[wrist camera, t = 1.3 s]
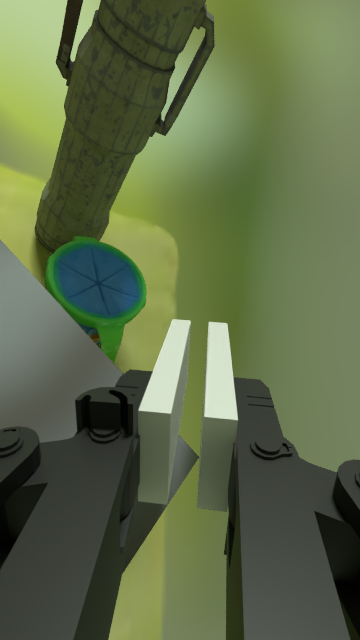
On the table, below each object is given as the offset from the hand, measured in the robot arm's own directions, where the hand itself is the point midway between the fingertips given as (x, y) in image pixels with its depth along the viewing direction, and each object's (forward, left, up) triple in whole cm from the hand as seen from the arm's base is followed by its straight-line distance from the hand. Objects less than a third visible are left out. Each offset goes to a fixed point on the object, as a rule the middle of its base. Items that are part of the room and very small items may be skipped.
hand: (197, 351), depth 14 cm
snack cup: (-14, +7, -27) cm, 31 cm away
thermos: (-28, +11, -27) cm, 40 cm away
